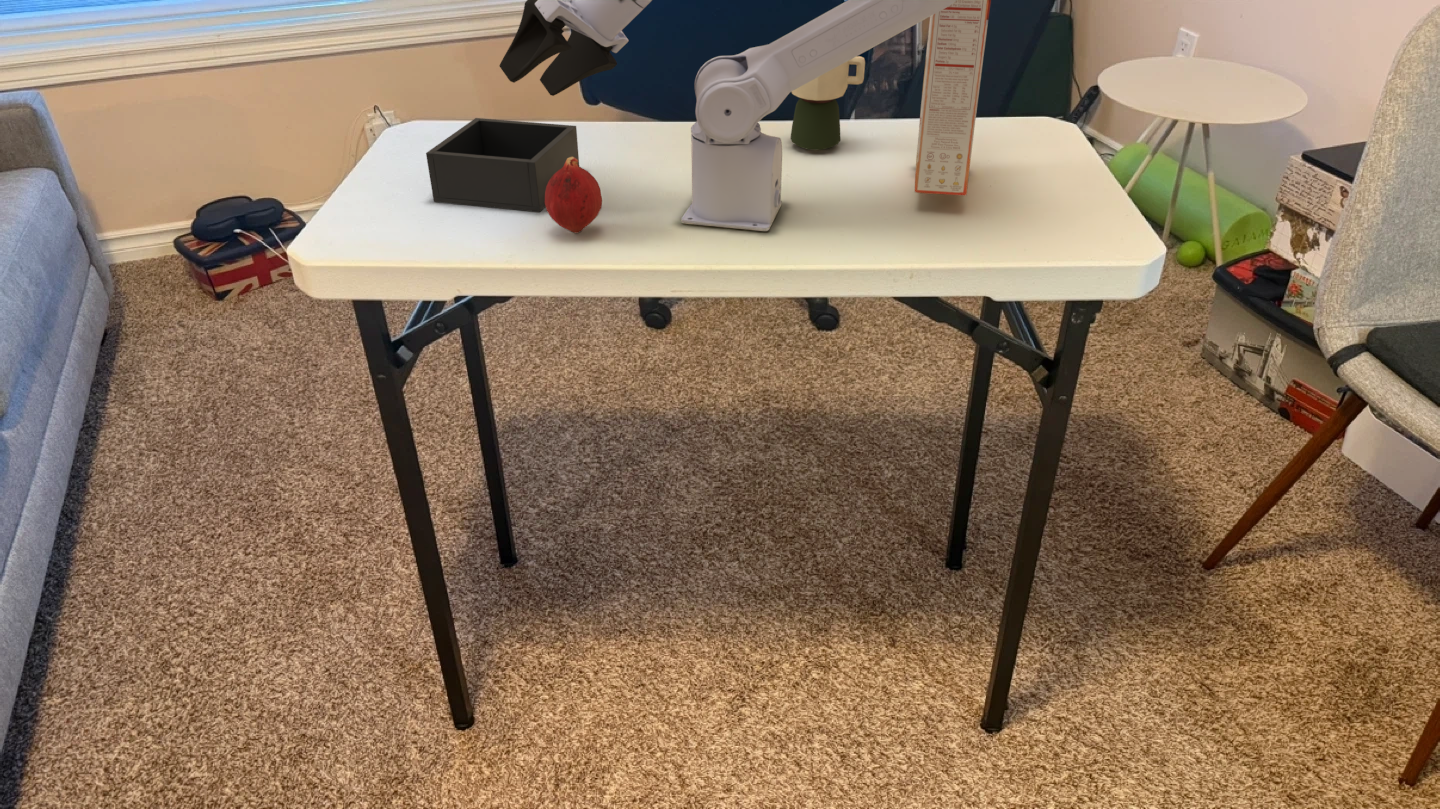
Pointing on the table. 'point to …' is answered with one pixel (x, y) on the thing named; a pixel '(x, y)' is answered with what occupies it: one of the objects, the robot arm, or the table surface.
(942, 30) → the cracker box
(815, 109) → the beige and green cup
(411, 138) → the table surface
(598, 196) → the onion
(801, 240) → the table surface
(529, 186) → the open storage bin
